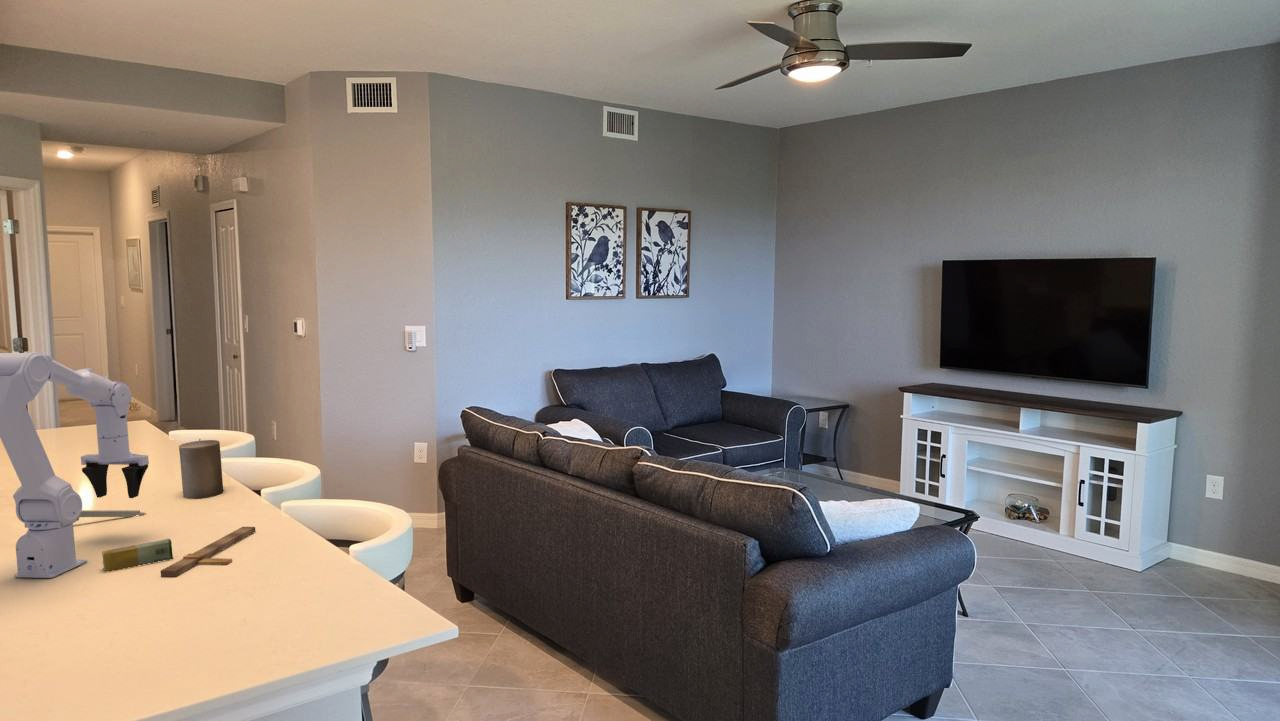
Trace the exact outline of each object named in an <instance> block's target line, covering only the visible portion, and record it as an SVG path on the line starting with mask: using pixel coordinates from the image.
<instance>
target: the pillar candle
mask: <svg viewBox="0 0 1280 721" xmlns="http://www.w3.org/2000/svg"><path fill="white" fill-rule="evenodd" d="M220 444H221V442H220V440H216V439H208V440H207V439H205V440H204V439H203V440H201V438H199V439H198V440H195V441H189V442H184V443H182V444H180V445H178V448H179V462H180V463H179V464H180V472H181V473H180V474H181V475H180V476H181V484H182V495H183V496H182V497H184V498H185V499H191V498H193V499H202V498H209V497H214V496H217V495H221V494H223V493H224V492H225V490H224V485H223V484H224V483H223V480H224V479H223V470H222V457H221V456H222V454H221V445H220ZM223 491H224V492H223ZM220 493H221V494H220Z"/></svg>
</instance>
